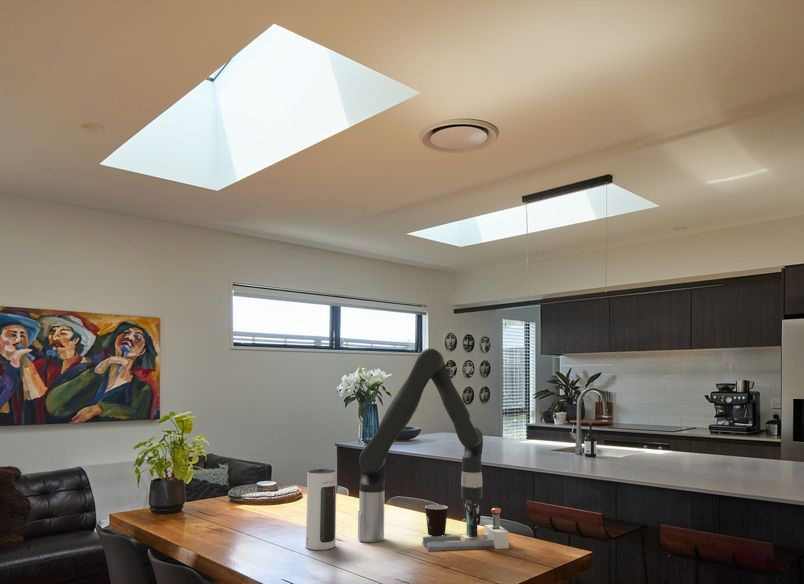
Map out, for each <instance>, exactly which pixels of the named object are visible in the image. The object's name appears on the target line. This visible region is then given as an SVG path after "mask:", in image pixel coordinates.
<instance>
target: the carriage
mask: <svg viewBox="0 0 804 584" xmlns="http://www.w3.org/2000/svg"><path fill="white" fill-rule="evenodd" d="M472 516H473V515H472ZM475 521H476V519H475ZM459 535H460V540H484V537H483V536H482V535H480V533H477V536H475V537H472V536H471V521H470V518H469V513H468V512H467V522H466V533H464V534H462V533H461V534H459Z"/></svg>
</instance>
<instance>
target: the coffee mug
mask: <svg viewBox="0 0 804 584" xmlns="http://www.w3.org/2000/svg"><path fill="white" fill-rule="evenodd" d="M448 508H449V507H448V506H447V505H443V504H428V505H425V506H424V509H425V518H426V527H427V528H426V529H427V535H428V534H429V535H428V536H430V535H432V536H442V535H444V536H446V528H447V518H448Z"/></svg>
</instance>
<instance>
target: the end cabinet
mask: <svg viewBox="0 0 804 584" xmlns="http://www.w3.org/2000/svg"><path fill="white" fill-rule="evenodd" d="M484 534H486V535H487V539H493V540H494V545H495V548H494V550H499V549H509V548H510V547H509V546H510V545H509V544H510V543H509V542H510V541H509V540H510V539H509V538H510V536H509V531H508V530H507V529H505V527H502V526H501V525H500V529H496V530H493V524H484Z"/></svg>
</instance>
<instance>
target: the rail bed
mask: <svg viewBox="0 0 804 584" xmlns="http://www.w3.org/2000/svg"><path fill="white" fill-rule="evenodd" d="M479 534H480V533H479ZM480 535H482V536H483V537H484V540H460V534H459V535H456V534H455V535H444V536H430V535H428V536H422V541H421V544H422V545H423V547H424V548H425V547H426V548H425V549H426V550H427V551H428V552H441V550H449V551H468V550H488V549H489V550H492V549H491V548H493V549H495V545H494V540H493V539H487V535H486V534H485V533H483V534H482V533H481V534H480Z"/></svg>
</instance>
